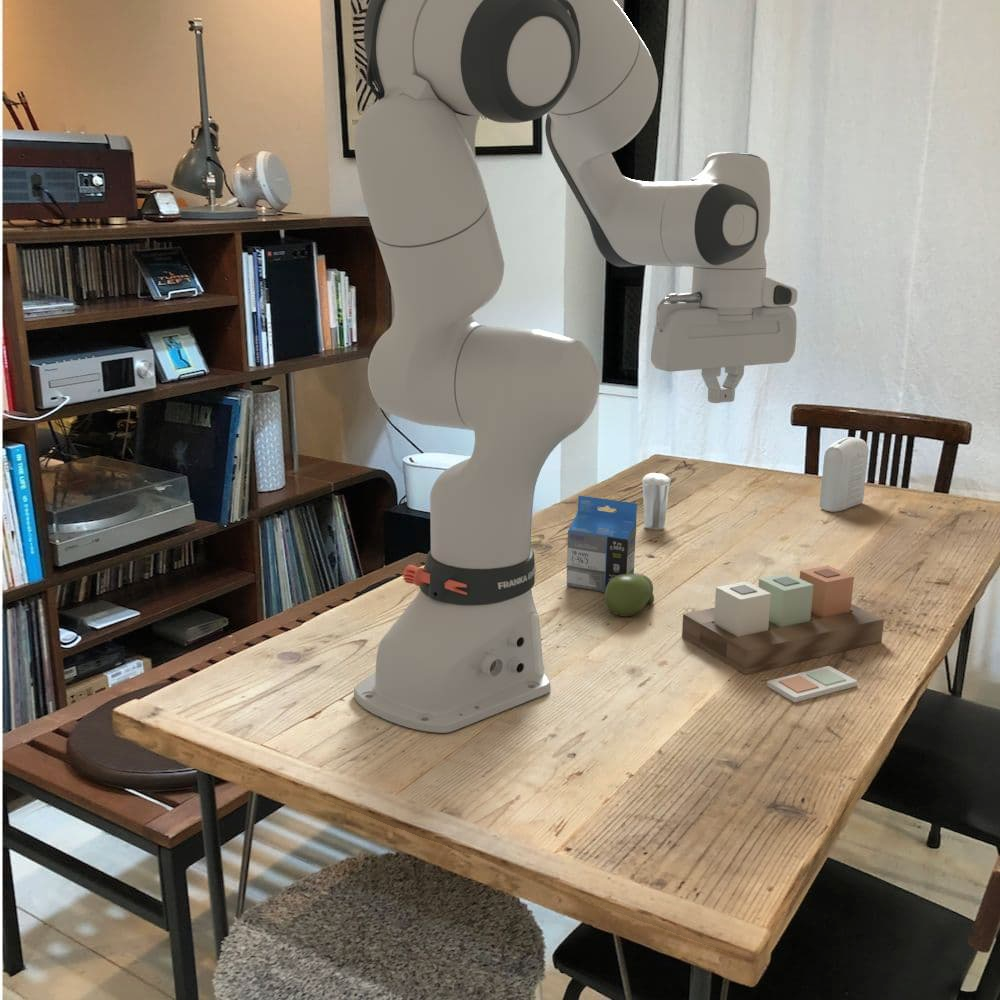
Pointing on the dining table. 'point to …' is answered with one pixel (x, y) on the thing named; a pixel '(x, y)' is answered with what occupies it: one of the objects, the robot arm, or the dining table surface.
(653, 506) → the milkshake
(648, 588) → the pear
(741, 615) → the key ivory
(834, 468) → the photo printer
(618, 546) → the label tape cartridge
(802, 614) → the key sage
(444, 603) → the robot arm
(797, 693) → the tile
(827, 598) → the key rust
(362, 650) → the dining table surface
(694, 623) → the keypad base
